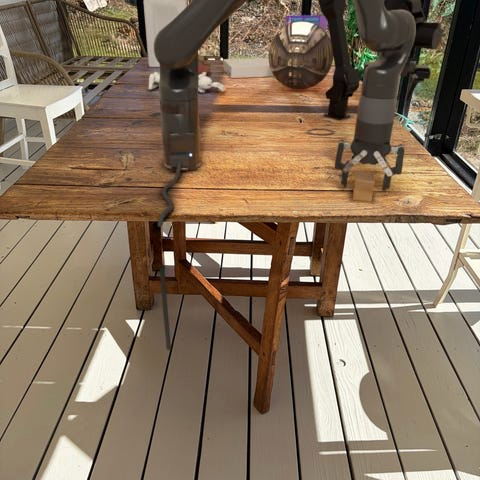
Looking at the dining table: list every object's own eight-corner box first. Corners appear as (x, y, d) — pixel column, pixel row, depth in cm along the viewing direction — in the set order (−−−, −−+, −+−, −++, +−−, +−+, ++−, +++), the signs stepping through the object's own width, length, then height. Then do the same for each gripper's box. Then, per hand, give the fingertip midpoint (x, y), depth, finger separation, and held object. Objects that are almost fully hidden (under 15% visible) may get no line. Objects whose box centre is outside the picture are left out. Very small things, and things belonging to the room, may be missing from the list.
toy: (168, 102, 172) (167, 83, 168) (144, 87, 190) (143, 69, 186) (228, 94, 182) (228, 76, 179) (199, 80, 201) (199, 63, 197)
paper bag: (192, 61, 237) (190, -2, 222) (188, 67, 224) (186, 1, 210) (154, 60, 237) (149, -3, 223) (148, 66, 225) (143, 0, 210)
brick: (352, 190, 110) (355, 171, 108) (371, 192, 109) (374, 173, 107) (352, 199, 106) (355, 180, 104) (371, 201, 105) (374, 182, 103)
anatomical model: (204, 86, 208) (191, 72, 218) (219, 73, 207) (206, 59, 217) (188, 66, 199) (175, 52, 208) (204, 52, 198) (190, 38, 207)
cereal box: (285, 75, 212) (289, 16, 200) (282, 73, 216) (285, 15, 204) (321, 73, 216) (327, 15, 204) (317, 71, 220) (322, 14, 208)
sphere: (332, 84, 199) (340, 18, 186) (325, 99, 179) (333, 26, 166) (274, 79, 205) (277, 15, 192) (260, 93, 184) (263, 23, 171)
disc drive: (281, 76, 210) (281, 64, 208) (231, 78, 206) (231, 66, 203) (269, 68, 225) (270, 57, 222) (223, 70, 220) (223, 58, 218)
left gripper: (339, 119, 97) (331, 192, 105) (412, 124, 94) (398, 198, 103) (341, 109, 103) (333, 178, 111) (409, 114, 101) (396, 184, 109)
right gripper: (367, 47, 132) (359, 104, 140) (438, 51, 129) (426, 109, 137) (367, 41, 141) (359, 95, 149) (433, 44, 138) (421, 99, 146)
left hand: (364, 188), depth 107 cm, fingers open, 8 cm apart
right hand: (391, 99), depth 145 cm, fingers open, 9 cm apart
